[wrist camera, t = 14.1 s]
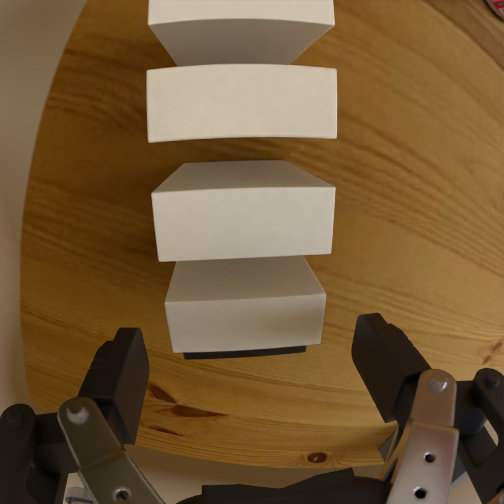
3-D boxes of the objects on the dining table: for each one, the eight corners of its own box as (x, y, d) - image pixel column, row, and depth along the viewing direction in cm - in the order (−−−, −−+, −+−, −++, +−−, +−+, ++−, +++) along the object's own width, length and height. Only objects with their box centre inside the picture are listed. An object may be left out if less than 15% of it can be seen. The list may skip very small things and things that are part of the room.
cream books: (181, 35, 15) (151, -32, 7) (283, 34, 15) (330, -30, 7) (193, 291, 21) (181, 388, 13) (281, 287, 22) (315, 379, 13)
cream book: (187, 227, 19) (163, 302, 11) (283, 223, 20) (327, 293, 12) (190, 262, 20) (172, 353, 12) (282, 258, 21) (320, 344, 13)
